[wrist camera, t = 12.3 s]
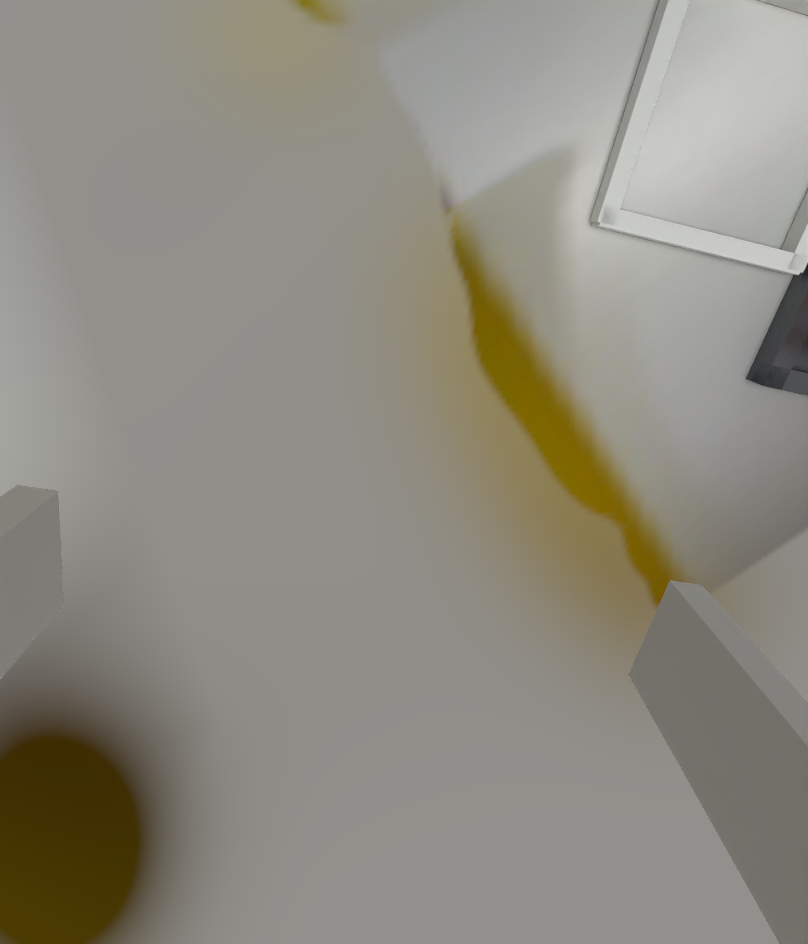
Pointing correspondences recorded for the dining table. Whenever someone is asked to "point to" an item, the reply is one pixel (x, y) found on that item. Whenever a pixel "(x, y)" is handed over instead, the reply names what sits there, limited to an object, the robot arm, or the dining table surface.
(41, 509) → the robot arm
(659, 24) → the tray frame
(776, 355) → the divided tray
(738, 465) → the dining table surface
